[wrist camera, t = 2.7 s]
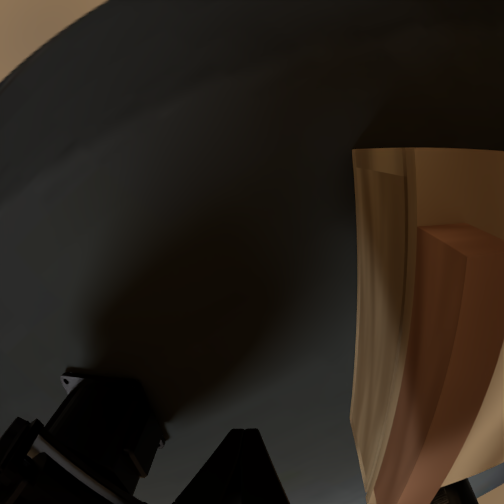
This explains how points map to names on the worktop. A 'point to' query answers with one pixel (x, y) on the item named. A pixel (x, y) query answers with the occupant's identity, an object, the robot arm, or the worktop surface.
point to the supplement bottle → (455, 494)
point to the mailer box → (378, 293)
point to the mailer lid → (448, 329)
